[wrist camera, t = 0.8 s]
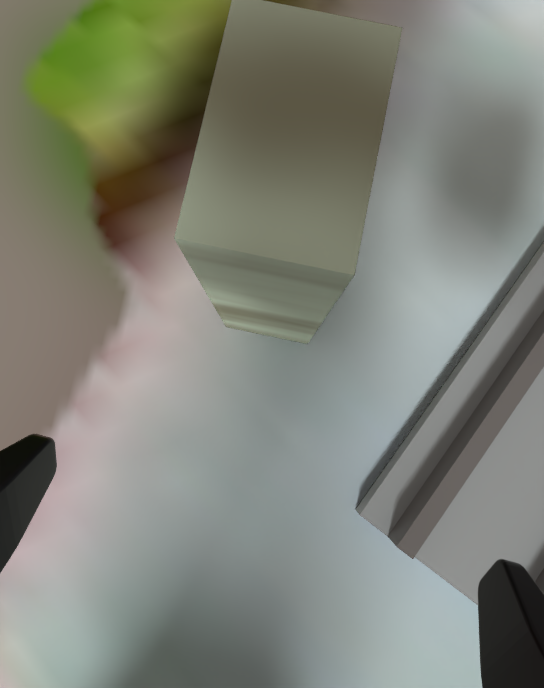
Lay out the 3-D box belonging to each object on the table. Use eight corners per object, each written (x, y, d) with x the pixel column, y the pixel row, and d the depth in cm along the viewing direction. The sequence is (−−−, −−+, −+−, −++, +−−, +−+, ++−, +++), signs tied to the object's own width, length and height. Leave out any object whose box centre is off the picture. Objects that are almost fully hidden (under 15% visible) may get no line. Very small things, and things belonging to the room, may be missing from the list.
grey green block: (307, 344, 23) (354, 275, 10) (226, 326, 23) (174, 238, 10) (331, 226, 23) (402, 27, 11) (252, 209, 23) (233, -6, 11)
